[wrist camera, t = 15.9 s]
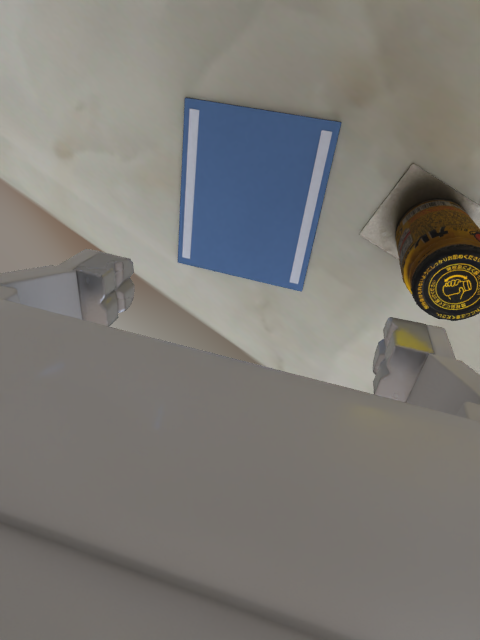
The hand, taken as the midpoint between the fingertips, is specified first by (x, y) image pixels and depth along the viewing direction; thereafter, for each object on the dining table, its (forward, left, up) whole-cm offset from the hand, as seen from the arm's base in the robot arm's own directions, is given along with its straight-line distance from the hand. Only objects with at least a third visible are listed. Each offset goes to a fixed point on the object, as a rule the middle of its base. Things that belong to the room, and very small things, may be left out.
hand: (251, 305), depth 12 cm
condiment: (+3, +10, -27) cm, 29 cm away
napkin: (+4, -7, -27) cm, 28 cm away
